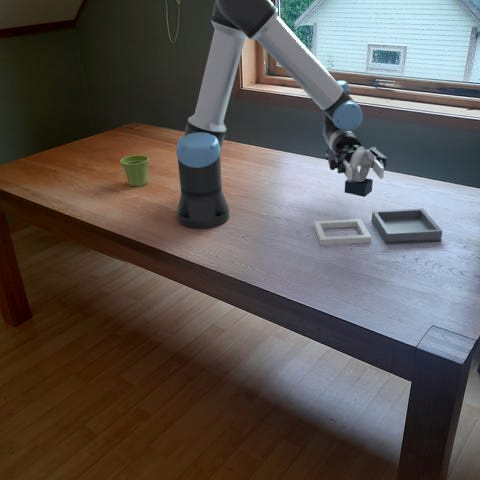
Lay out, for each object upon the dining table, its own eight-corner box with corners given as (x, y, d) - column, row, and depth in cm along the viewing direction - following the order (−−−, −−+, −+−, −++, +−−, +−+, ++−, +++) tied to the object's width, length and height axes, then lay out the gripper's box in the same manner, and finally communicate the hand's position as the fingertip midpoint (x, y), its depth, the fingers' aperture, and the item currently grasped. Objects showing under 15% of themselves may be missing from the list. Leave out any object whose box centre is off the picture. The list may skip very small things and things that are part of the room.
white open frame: (320, 245, 132) (320, 239, 132) (313, 226, 142) (313, 221, 141) (371, 242, 132) (371, 237, 132) (360, 223, 142) (360, 218, 142)
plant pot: (127, 190, 170) (123, 165, 166) (121, 181, 178) (117, 157, 174) (154, 185, 174) (152, 161, 170) (147, 177, 181) (144, 153, 177)
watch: (375, 188, 133) (378, 147, 128) (361, 199, 127) (364, 156, 122) (355, 184, 136) (357, 144, 131) (341, 194, 130) (343, 153, 125)
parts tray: (386, 244, 131) (387, 233, 130) (371, 220, 144) (372, 211, 142) (440, 241, 131) (442, 231, 130) (421, 218, 144) (422, 208, 143)
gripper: (379, 156, 147) (405, 186, 126) (309, 160, 146) (324, 190, 126) (381, 130, 143) (409, 157, 123) (310, 134, 143) (325, 161, 122)
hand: (366, 174), depth 124 cm, fingers closed on watch, 7 cm apart
